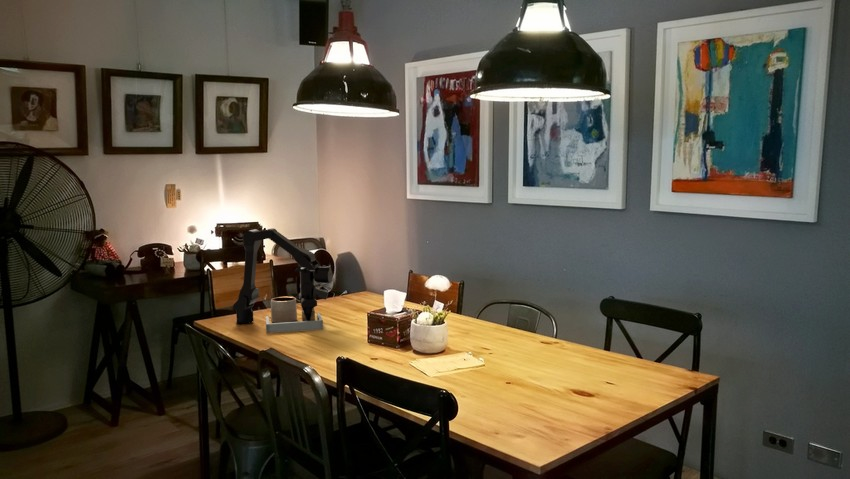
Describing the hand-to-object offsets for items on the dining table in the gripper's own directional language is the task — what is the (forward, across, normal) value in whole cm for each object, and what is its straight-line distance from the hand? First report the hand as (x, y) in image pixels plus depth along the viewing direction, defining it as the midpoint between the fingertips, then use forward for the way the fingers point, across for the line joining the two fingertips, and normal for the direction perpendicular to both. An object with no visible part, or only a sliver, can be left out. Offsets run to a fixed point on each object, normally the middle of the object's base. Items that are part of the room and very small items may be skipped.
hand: (308, 319), depth 281 cm
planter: (+3, +11, +10) cm, 15 cm away
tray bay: (+2, -1, +6) cm, 7 cm away
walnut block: (+1, 0, 0) cm, 1 cm away
